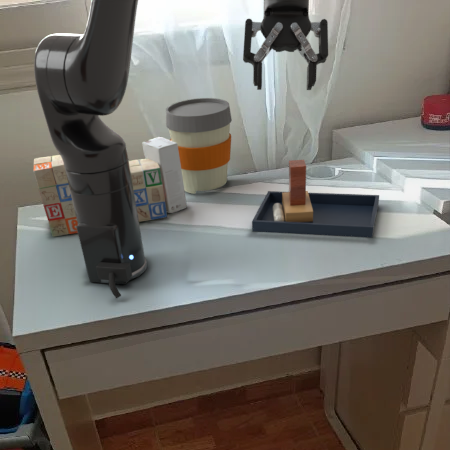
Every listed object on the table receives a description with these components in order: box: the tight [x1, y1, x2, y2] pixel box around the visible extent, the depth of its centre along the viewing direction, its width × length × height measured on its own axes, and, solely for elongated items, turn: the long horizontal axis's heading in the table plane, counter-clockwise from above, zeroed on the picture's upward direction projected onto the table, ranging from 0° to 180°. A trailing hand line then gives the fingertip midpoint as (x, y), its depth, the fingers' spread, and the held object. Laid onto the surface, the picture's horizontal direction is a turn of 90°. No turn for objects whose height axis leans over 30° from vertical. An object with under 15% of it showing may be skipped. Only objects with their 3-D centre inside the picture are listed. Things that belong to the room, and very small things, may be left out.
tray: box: [251, 190, 380, 239], centre depth 106 cm, size 13×20×3 cm, turn 75°
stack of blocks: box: [33, 154, 168, 238], centre depth 109 cm, size 21×6×12 cm, turn 103°
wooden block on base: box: [282, 159, 313, 223], centre depth 104 cm, size 9×5×9 cm, turn 0°
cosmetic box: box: [141, 136, 188, 214], centre depth 112 cm, size 6×4×12 cm
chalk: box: [273, 203, 285, 221], centre depth 106 cm, size 7×2×2 cm
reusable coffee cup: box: [165, 97, 233, 195], centre depth 119 cm, size 13×13×15 cm
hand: (284, 88), depth 103 cm, fingers open, 8 cm apart
